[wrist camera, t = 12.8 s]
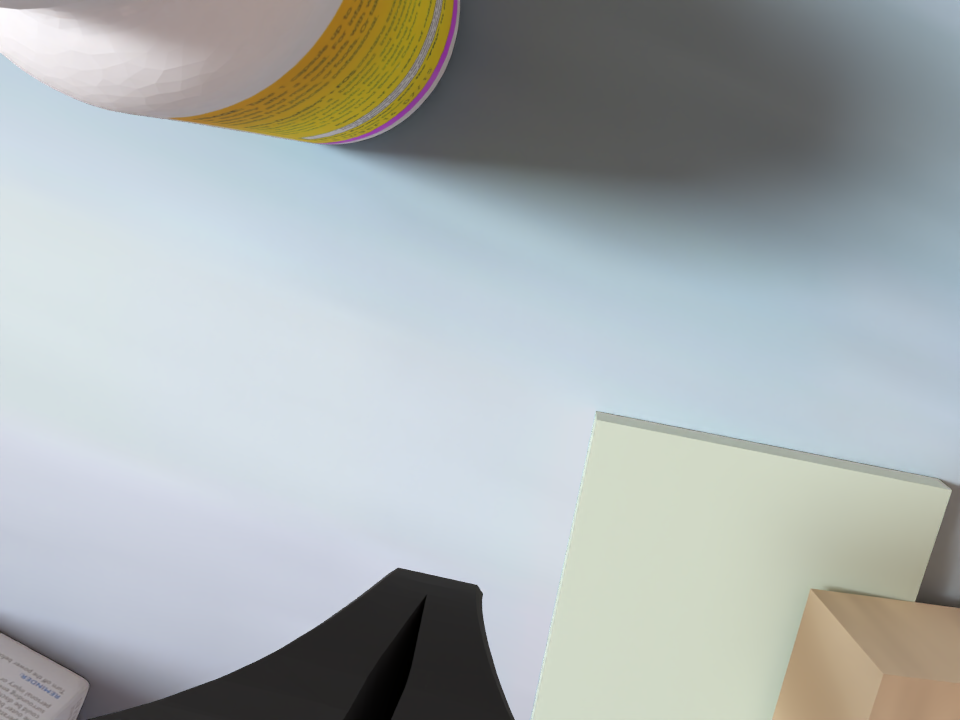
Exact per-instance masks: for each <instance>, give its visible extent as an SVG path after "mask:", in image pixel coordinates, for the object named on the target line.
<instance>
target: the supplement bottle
mask: <svg viewBox="0 0 960 720" xmlns="http://www.w3.org/2000/svg"><path fill="white" fill-rule="evenodd" d="M459 16H460V0H0V53H2V54H3V55H4V56H5V57H7V58H8V59H9V60H10V61H12V62H13V63H14V64H15V65H17V66H18V67H19V68H20V69H22V70H23V71H25V72H26V73H28V74H29V75H31V76H32V77H34V78H36V79H37V80H39V81H40V82H42V83H44V84H46V85H48V86H50V87H51V88H53V89H55V90H57V91H59V92H61V93H64V94H66V95H68V96H70V97H72V98H74V99H77V100H79V101H82V102H85V103H87V104H90V105H93V106H96V107H100V108H103V109H107V110H111V111H116V112H122V113H127V114H133V115H140V116H147V117H154V118H161V119H168V120H174V121H181V122H188V123H194V124H200V125H206V126H212V127H218V128H224V129H230V130H236V131H242V132H248V133H254V134H259V135H265V136H271V137H277V138H283V139H288V140H294V141H300V142H307V143H316V144H326V145H327V144H346V143H354V142H358V141H362V140H366V139H369V138H372V137H374V136H377V135H379V134H382V133H384V132H386V131H388V130H390V129H392V128H393V127H395V126H396V125H398V124H400V123H401V122H402V121H404V120H405V119H406V118H408V117H409V116H410V115H411V114H412V113H413V112H414V111H415V110H417V109H418V108H419V107H420V106H421V104H422V103H423V102H424V101H425V100H426V99H427V97H428V96H429V95H430V94H431V92H432V91H433V90H434V88H435V87H436V85H437V84H438V82H439V80H440V79H441V77H442V75H443V73H444V72H445V70H446V67H447V65H448V62H449V60H450V57H451V55H452V51H453V48H454V44H455V41H456V36H457V32H458V25H459Z"/></svg>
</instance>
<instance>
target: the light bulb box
mask: <svg viewBox="0 0 960 720" xmlns="http://www.w3.org/2000/svg"><path fill="white" fill-rule="evenodd" d="M88 689H89V683H88V681H87V680H85V679H84V678H82V677H81V676H79V675H77V674H76V673H74V672H72V671H70V670H68V669H67V668H65V667H63V666H61V665H59V664H57V663H55V662H54V661H52V660H50V659H48V658H47V657H45V656H43V655H41V654H39V653H37V652H35V651H33V650H32V649H30V648H28V647H26V646H25V645H23V644H21V643H19V642H17V641H15V640H13V639H11V638H10V637H8V636H6V635H4V634H2V633H0V720H76V719H77V717H78V714H79V712H80V709H81V707H82V705H83V702H84V700H85V697H86V695H87V692H88Z"/></svg>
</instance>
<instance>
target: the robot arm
mask: <svg viewBox="0 0 960 720" xmlns="http://www.w3.org/2000/svg"><path fill="white" fill-rule="evenodd" d="M482 596H483V593H482V592H481V590H480V589H479V587H478V586H477V585H475V584H470V583H465V582H461V581H456V580H452V579H447V578H443V577H438V576H434V575H429V574H424V573H420V572H415V571H411V570H406V569H402V568H397V569H395V570H394V571H392V572H391V573H389V574H388V575H387V576H385V577H384V578H383V579H381V580H380V581H379V582H378V583H376V584H375V585H374V586H373V587H371V588H370V589H369V590H367V591H366V592H365V593H363V594H362V595H361V596H359V597H358V598H357V599H355V600H354V601H353V602H351V603H350V604H349V605H347V606H346V607H344V608H343V609H342V610H340V611H339V612H337V613H336V614H334V615H333V616H332V617H330V618H329V619H327V620H326V621H324V622H323V623H321V624H320V625H318V626H317V627H315V628H314V629H312V630H311V631H309V632H307V633H306V634H304V635H302V636H301V637H299V638H297V639H296V640H294V641H292V642H291V643H289V644H287V645H286V646H284V647H283V648H281V649H279V650H277V651H276V652H274V653H272V654H270V655H268V656H266V657H264V658H262V659H260V660H258V661H256V662H254V663H252V664H250V665H247V666H245V667H243V668H241V669H239V670H237V671H234V672H232V673H230V674H228V675H225V676H223V677H221V678H218V679H216V680H213V681H210V682H207V683H205V684H202V685H199V686H197V687H194V688H191V689H188V690H186V691H183V692H180V693H177V694H175V695H172V696H169V697H166V698H164V699H161V700H158V701H154V702H151V703H148V704H144V705H141V706H137V707H134V708H131V709H127V710H124V711H120V712H116V713H112V714H108V715H104V716H100V717H96V718H92V719H88V720H515V719H514V717H513V715H512V713H511V710H510V708H509V705H508V703H507V700H506V698H505V695H504V692H503V690H502V687H501V685H500V682H499V679H498V676H497V673H496V670H495V666H494V663H493V659H492V656H491V652H490V649H489V645H488V641H487V637H486V632H485V626H484V621H483V613H482Z"/></svg>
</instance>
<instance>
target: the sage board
mask: <svg viewBox="0 0 960 720" xmlns="http://www.w3.org/2000/svg"><path fill="white" fill-rule="evenodd" d="M951 492H952V490H951V489H950V488H949V487H948V486H946V485H945V484H944V483H943V482H942V481H940V480H939V479H937V478H932V477H927V476H922V475H917V474H912V473H906V472H901V471H896V470H891V469H886V468H881V467H876V466H871V465H866V464H861V463H856V462H851V461H846V460H841V459H836V458H830V457H825V456H820V455H815V454H810V453H805V452H800V451H795V450H790V449H785V448H780V447H775V446H770V445H765V444H760V443H754V442H749V441H744V440H739V439H734V438H729V437H724V436H719V435H714V434H709V433H704V432H699V431H694V430H689V429H684V428H678V427H673V426H668V425H663V424H658V423H653V422H648V421H643V420H638V419H633V418H628V417H623V416H618V415H613V414H607V413H602V412H597V411H596V414H595V419H594V424H593V428H592V433H591V438H590V443H589V447H588V452H587V457H586V461H585V466H584V471H583V476H582V480H581V485H580V490H579V495H578V499H577V504H576V509H575V513H574V518H573V523H572V528H571V532H570V537H569V542H568V546H567V551H566V556H565V561H564V565H563V570H562V575H561V579H560V584H559V589H558V594H557V598H556V603H555V608H554V612H553V617H552V622H551V627H550V631H549V636H548V641H547V645H546V650H545V655H544V660H543V664H542V669H541V674H540V679H539V683H538V688H537V693H536V697H535V702H534V707H533V712H532V716H531V720H772V718H773V714H774V711H775V708H776V704H777V701H778V697H779V694H780V691H781V687H782V684H783V680H784V677H785V674H786V670H787V667H788V663H789V660H790V657H791V653H792V650H793V646H794V643H795V640H796V636H797V633H798V629H799V626H800V623H801V619H802V616H803V612H804V609H805V606H806V602H807V599H808V595H809V592H810V589H818V590H826V591H833V592H841V593H849V594H856V595H864V596H871V597H879V598H887V599H894V600H902V601H910V602H915V600H916V597H917V594H918V591H919V588H920V585H921V582H922V579H923V576H924V573H925V570H926V567H927V564H928V561H929V558H930V555H931V552H932V549H933V546H934V543H935V540H936V537H937V534H938V531H939V528H940V525H941V522H942V519H943V516H944V513H945V510H946V507H947V504H948V501H949V498H950V495H951Z"/></svg>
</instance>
